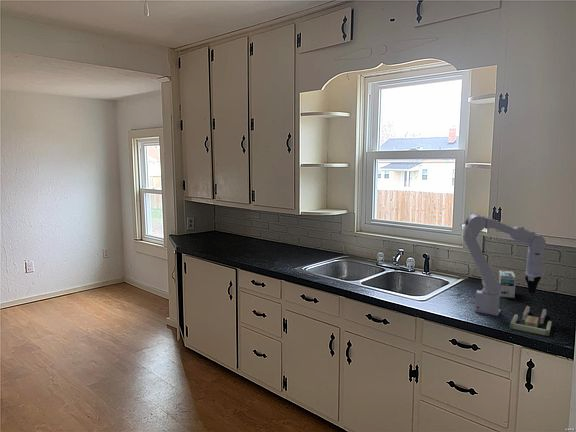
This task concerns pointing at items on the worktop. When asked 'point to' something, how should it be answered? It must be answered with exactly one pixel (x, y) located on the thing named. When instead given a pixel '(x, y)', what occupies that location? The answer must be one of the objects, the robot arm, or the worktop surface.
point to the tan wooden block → (531, 323)
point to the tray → (529, 328)
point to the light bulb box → (507, 283)
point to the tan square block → (533, 318)
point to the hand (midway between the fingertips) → (531, 293)
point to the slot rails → (540, 317)
